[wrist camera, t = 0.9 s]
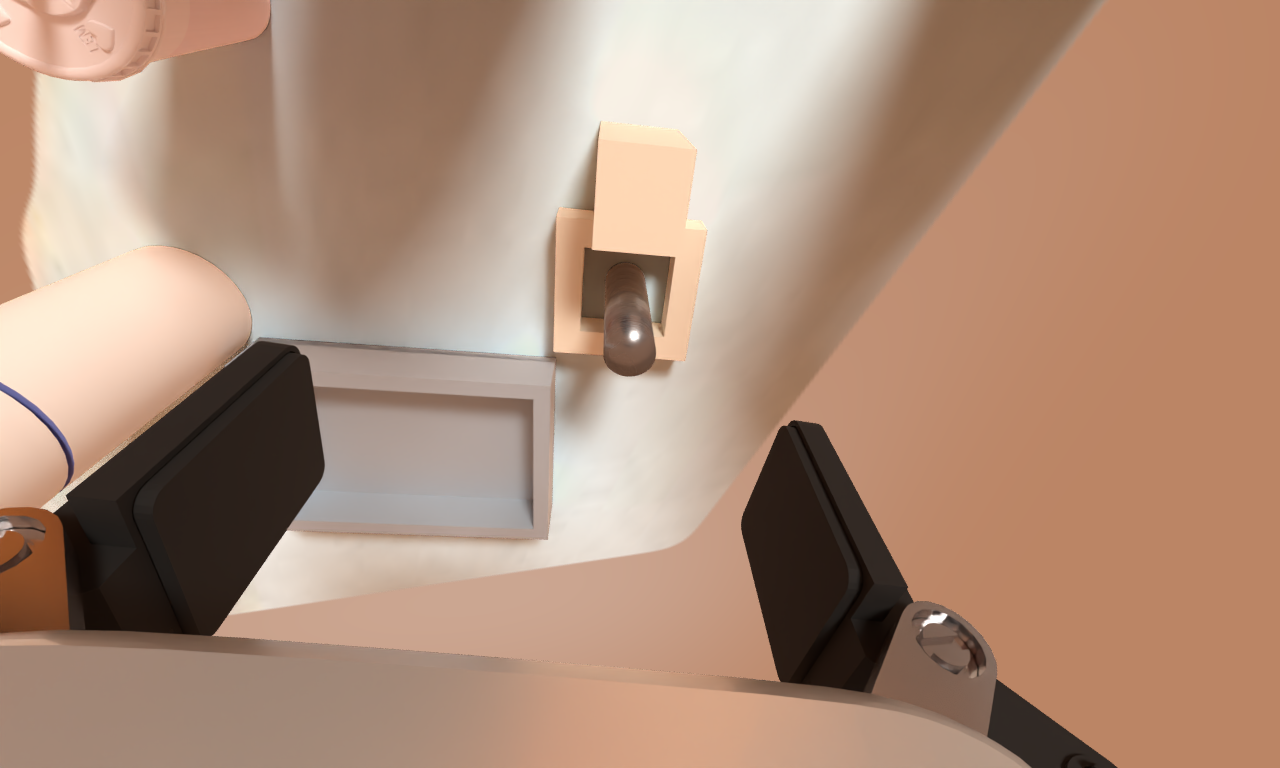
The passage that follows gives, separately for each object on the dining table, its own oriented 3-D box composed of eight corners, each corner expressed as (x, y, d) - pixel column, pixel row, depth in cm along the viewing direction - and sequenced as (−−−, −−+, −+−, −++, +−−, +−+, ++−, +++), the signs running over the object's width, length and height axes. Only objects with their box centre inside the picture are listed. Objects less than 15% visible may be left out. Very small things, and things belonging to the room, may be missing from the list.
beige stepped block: (716, 133, 28) (745, 154, 22) (681, 345, 34) (696, 407, 28) (561, 116, 27) (547, 133, 21) (556, 336, 33) (544, 397, 27)
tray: (555, 357, 34) (550, 386, 31) (552, 504, 41) (547, 539, 38) (259, 337, 32) (224, 365, 29) (307, 494, 39) (282, 530, 36)
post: (647, 264, 31) (659, 332, 23) (642, 302, 32) (652, 378, 25) (606, 260, 31) (605, 327, 23) (603, 299, 32) (601, 374, 24)
